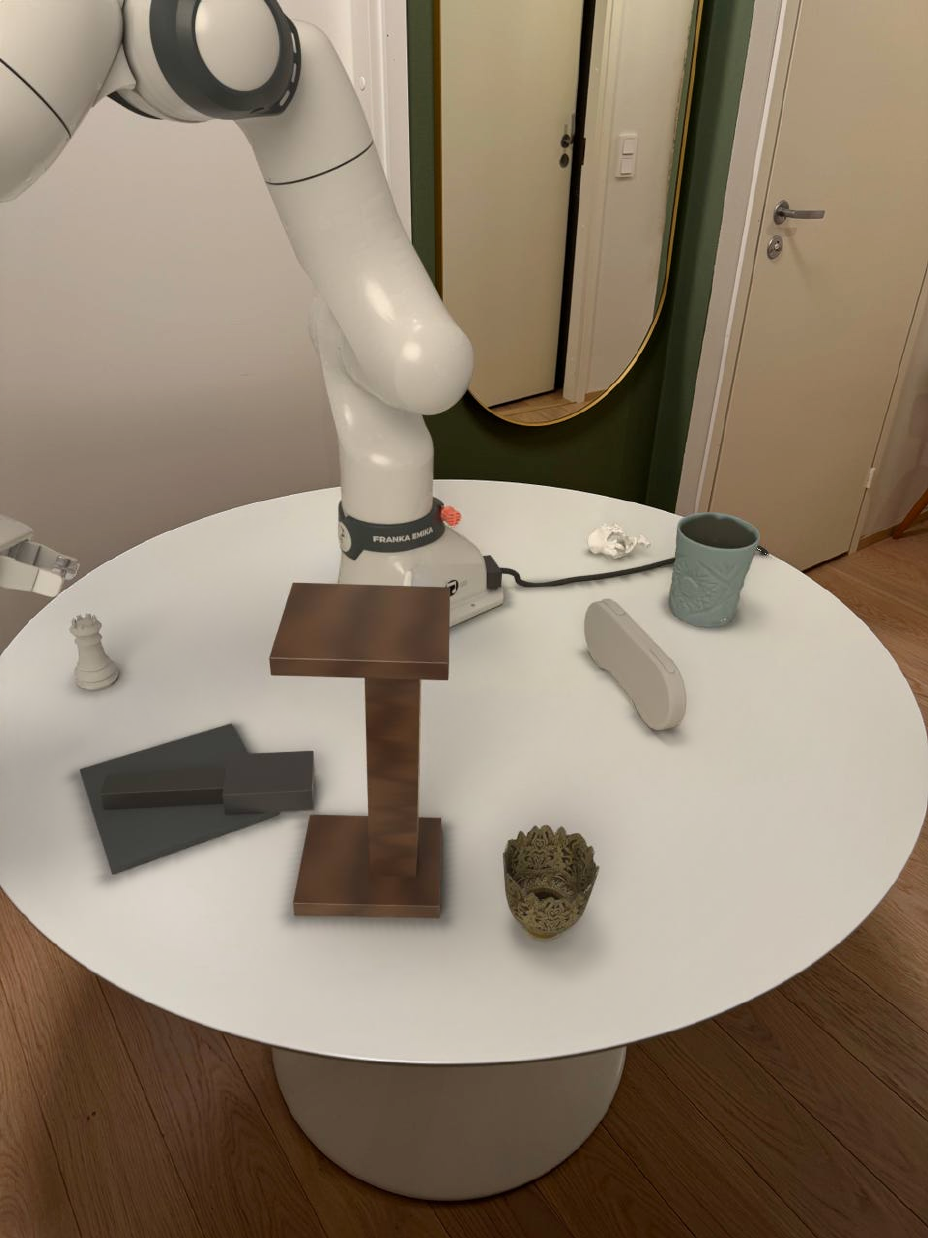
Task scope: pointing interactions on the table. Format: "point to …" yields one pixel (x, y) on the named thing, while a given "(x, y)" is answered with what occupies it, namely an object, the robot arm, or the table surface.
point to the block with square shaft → (222, 785)
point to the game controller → (635, 664)
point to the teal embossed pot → (710, 567)
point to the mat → (170, 827)
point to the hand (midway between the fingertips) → (69, 578)
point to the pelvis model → (600, 544)
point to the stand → (372, 743)
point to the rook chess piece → (92, 655)
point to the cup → (548, 880)
